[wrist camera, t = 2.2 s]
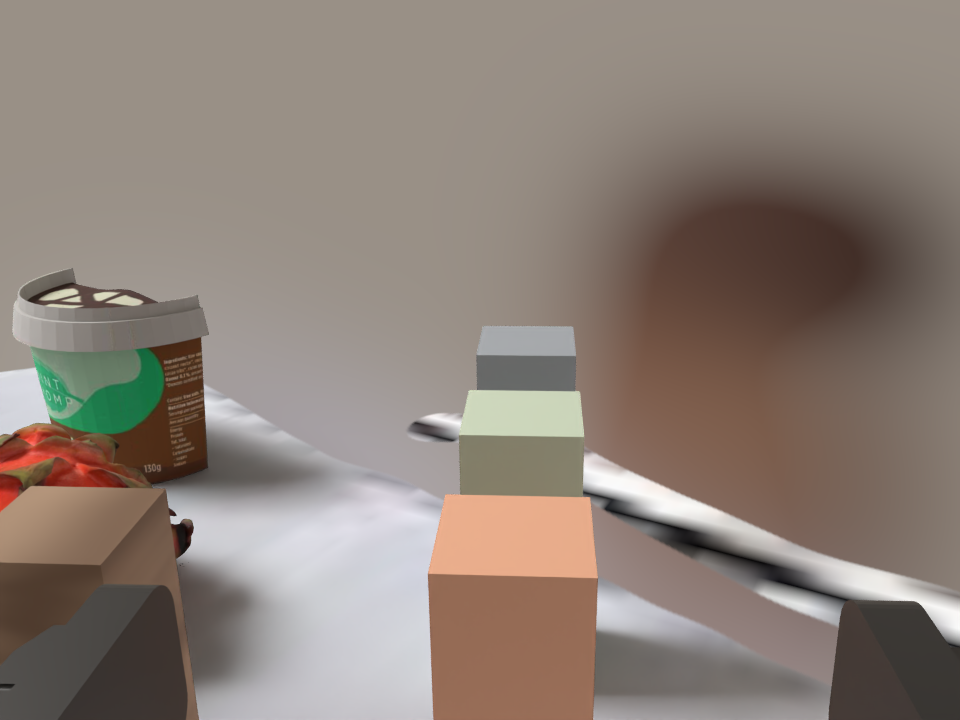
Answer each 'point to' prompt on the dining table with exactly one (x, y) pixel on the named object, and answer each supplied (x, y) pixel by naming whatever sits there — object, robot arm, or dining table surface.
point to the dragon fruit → (70, 467)
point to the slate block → (526, 358)
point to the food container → (120, 370)
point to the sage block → (522, 444)
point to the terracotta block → (513, 608)
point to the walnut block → (82, 557)
